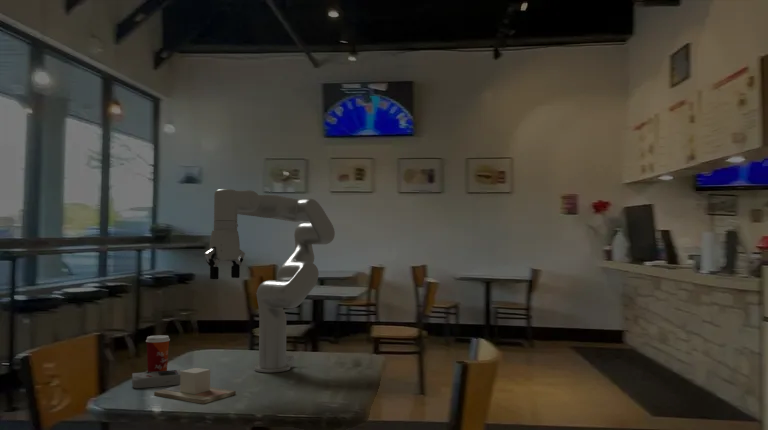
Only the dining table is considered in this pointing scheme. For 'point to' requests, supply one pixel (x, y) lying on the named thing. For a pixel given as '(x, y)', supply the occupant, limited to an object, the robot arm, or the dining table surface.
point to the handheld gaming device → (156, 379)
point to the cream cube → (195, 380)
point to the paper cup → (157, 352)
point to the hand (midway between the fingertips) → (225, 278)
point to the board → (197, 398)
